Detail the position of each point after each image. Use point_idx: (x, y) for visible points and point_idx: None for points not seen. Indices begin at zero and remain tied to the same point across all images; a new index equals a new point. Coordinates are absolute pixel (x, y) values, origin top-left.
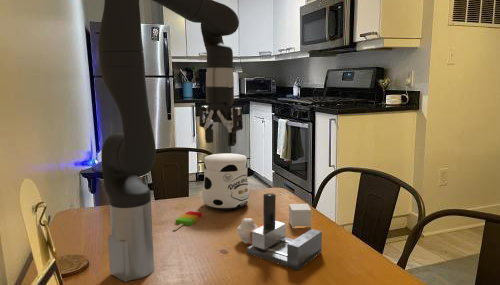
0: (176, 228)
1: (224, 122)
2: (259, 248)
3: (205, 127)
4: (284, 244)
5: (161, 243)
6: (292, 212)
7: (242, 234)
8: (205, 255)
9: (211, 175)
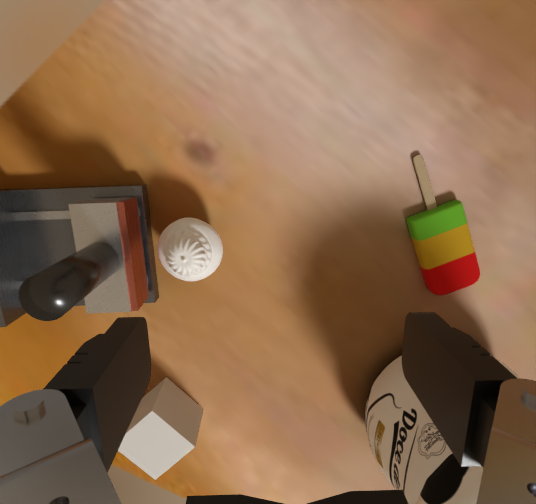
0: (419, 169)
1: (53, 479)
2: None
3: (529, 395)
4: None
5: (378, 69)
6: (153, 407)
7: (182, 218)
8: (219, 100)
9: None
